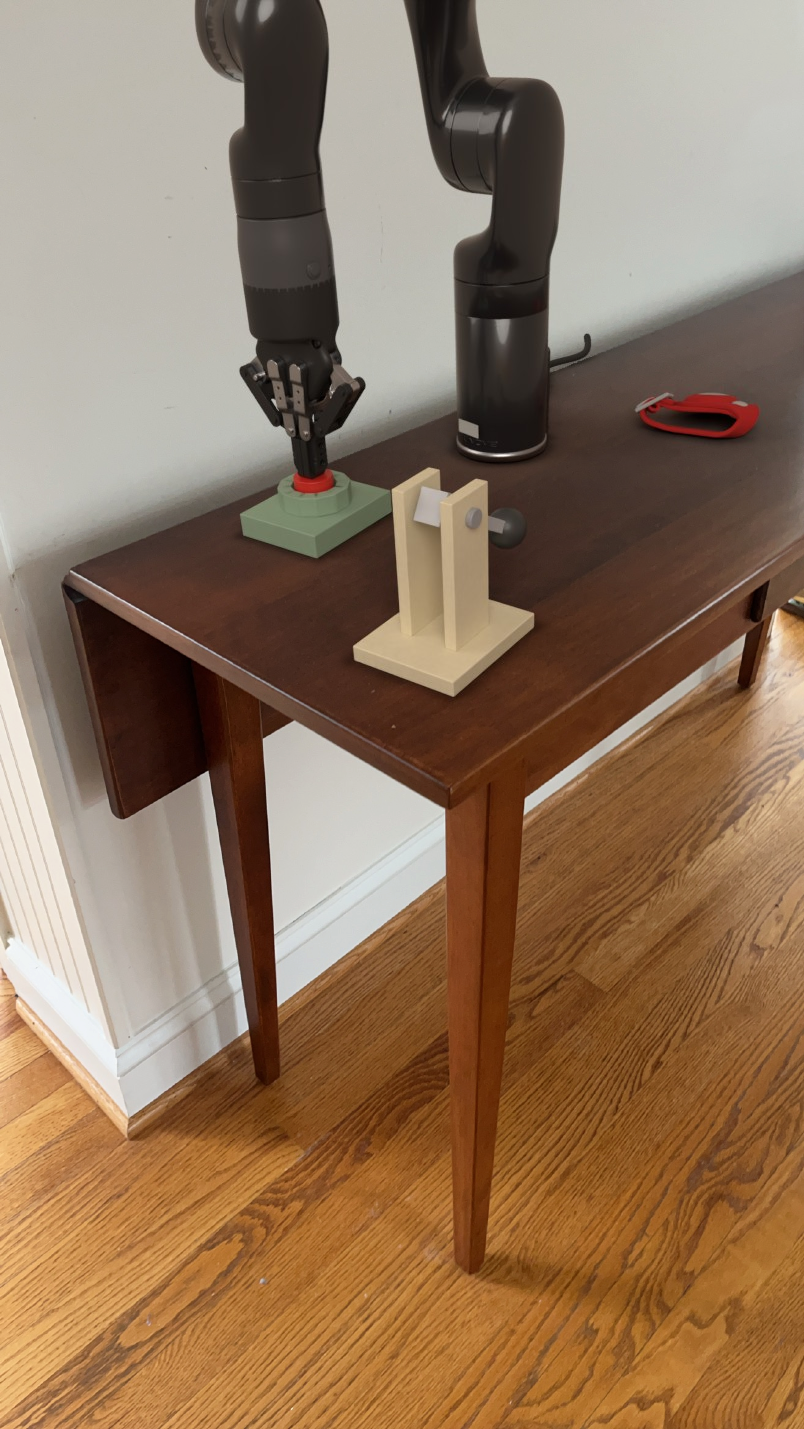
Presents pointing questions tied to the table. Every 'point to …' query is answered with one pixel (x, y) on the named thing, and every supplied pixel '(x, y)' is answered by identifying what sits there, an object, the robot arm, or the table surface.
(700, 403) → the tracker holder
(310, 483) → the stop button
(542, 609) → the table surface
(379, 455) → the table surface
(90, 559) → the table surface
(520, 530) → the press lever
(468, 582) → the lever bracket
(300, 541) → the button block
